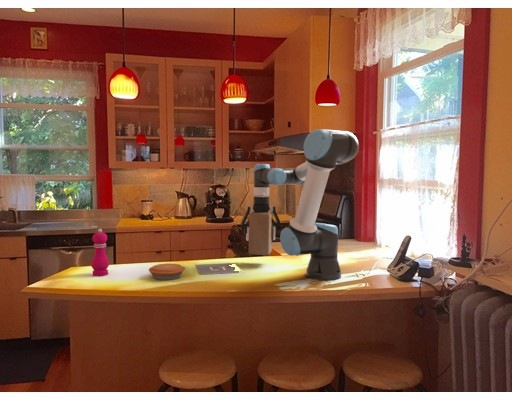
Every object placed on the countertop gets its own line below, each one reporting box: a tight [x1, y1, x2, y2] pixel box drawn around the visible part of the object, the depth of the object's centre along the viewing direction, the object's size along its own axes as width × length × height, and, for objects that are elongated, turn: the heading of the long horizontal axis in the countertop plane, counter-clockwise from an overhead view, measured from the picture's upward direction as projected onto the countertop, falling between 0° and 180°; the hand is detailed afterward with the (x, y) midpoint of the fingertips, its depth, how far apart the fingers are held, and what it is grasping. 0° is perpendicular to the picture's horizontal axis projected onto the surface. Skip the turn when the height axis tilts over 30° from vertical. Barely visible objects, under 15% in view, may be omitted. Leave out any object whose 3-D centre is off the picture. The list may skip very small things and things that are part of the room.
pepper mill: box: [90, 228, 110, 277], centre depth 183 cm, size 7×7×20 cm
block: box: [248, 211, 274, 256], centre depth 206 cm, size 10×10×20 cm
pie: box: [148, 263, 186, 281], centre depth 182 cm, size 16×16×5 cm
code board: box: [195, 262, 240, 276], centre depth 198 cm, size 20×20×1 cm
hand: (260, 240), depth 206 cm, fingers closed on block, 12 cm apart
